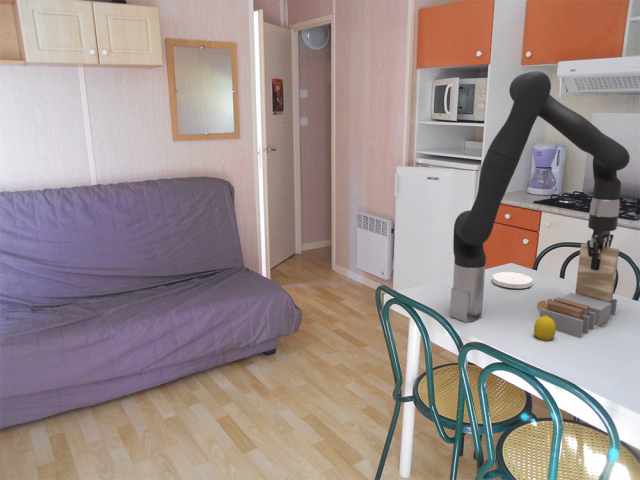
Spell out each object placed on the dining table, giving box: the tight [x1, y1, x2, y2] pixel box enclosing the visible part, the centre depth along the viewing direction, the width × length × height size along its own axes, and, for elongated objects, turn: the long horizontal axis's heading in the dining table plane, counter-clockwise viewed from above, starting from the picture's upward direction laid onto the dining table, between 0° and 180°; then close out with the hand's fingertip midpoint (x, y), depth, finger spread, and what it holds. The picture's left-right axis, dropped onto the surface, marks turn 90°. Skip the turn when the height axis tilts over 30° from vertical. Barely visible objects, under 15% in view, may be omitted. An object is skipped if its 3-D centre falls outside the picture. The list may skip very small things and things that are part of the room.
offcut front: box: [546, 300, 583, 320], centre depth 148 cm, size 2×9×7 cm, turn 41°
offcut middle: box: [553, 297, 589, 316], centre depth 150 cm, size 2×9×7 cm, turn 41°
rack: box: [539, 292, 618, 339], centre depth 154 cm, size 24×12×6 cm, turn 131°
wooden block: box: [574, 242, 620, 302], centre depth 157 cm, size 2×10×16 cm, turn 41°
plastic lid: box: [491, 271, 533, 289], centre depth 190 cm, size 14×14×2 cm
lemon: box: [533, 315, 557, 341], centre depth 143 cm, size 6×6×8 cm
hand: (596, 268), depth 157 cm, fingers closed on wooden block, 2 cm apart
